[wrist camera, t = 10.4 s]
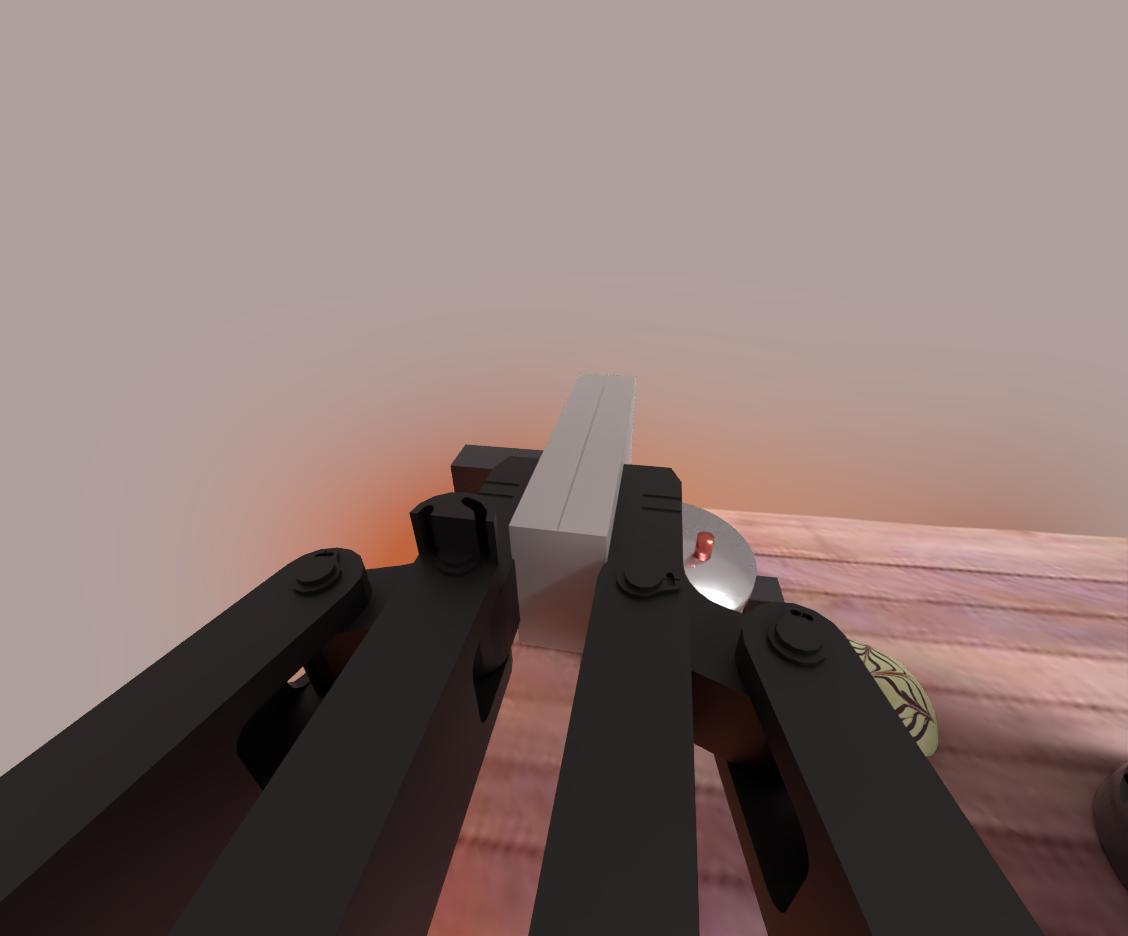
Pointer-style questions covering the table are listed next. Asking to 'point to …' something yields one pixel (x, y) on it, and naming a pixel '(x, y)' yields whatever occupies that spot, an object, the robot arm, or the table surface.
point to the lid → (708, 541)
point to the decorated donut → (902, 695)
